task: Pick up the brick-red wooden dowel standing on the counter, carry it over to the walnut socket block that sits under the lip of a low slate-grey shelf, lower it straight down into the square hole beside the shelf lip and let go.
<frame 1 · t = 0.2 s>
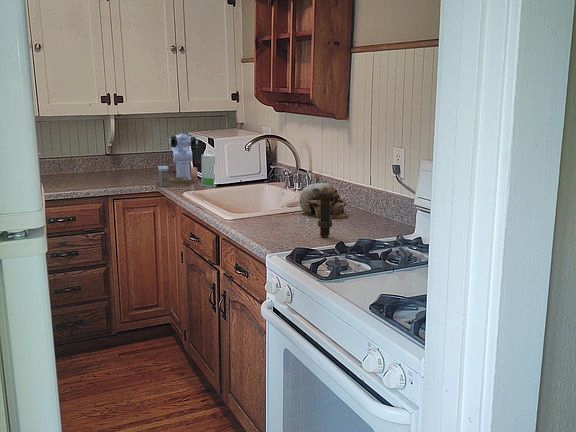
hand: (184, 142, 296), 21 cm above the worktop, tool horizontal, fingers open, 7 cm apart
skincare box: (212, 186, 299), on the worktop
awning: (163, 176, 299), on the worktop
socket block: (178, 184, 302), on the worktop
bolt: (324, 237, 197), on the worktop
peg: (194, 183, 307), on the worktop
coin bank: (323, 215, 231), on the worktop
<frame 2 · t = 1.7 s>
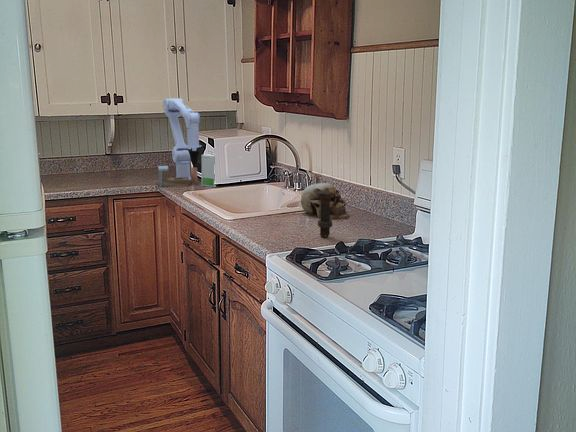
hand: (193, 163, 305), 10 cm above the worktop, tool pointing down, fingers open, 7 cm apart
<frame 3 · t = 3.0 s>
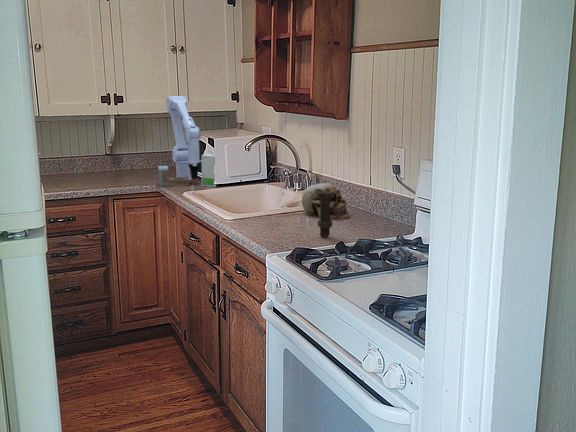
hand: (194, 178, 306), 2 cm above the worktop, tool pointing down, fingers closed on peg, 3 cm apart
peg: (194, 183, 307), on the worktop, touching gripper
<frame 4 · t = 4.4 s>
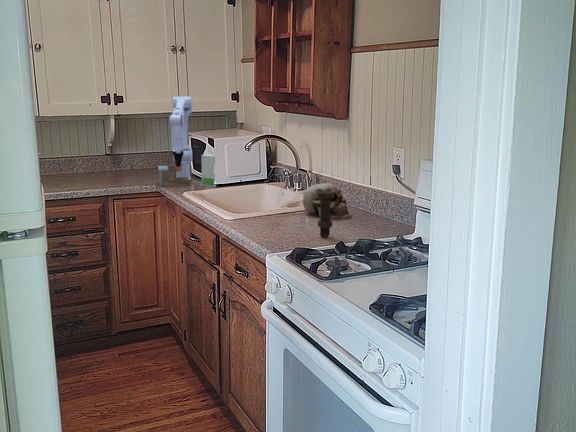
hand: (178, 166, 300), 9 cm above the worktop, tool pointing down, fingers closed on peg, 3 cm apart
peg: (178, 171, 301), point 7 cm above the worktop, touching gripper
when the fingers open (4 cm above the worktop, at t = 6.0 s): peg drops 1 cm, on the worktop.
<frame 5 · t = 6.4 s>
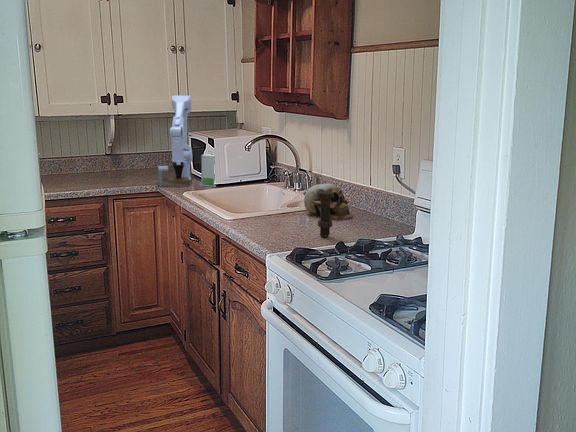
hand: (178, 177, 301), 4 cm above the worktop, tool pointing down, fingers open, 6 cm apart
peg: (179, 184, 302), on the worktop
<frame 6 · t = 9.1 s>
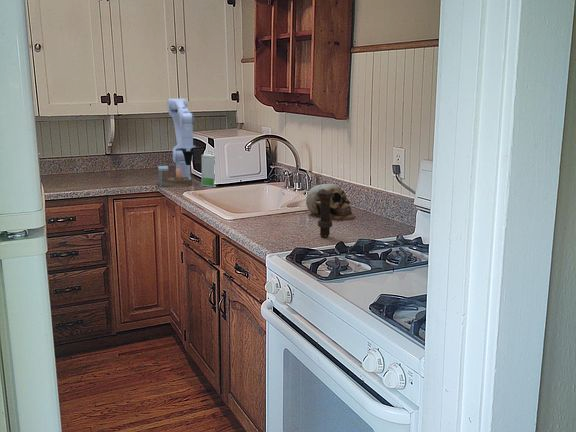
hand: (188, 164, 304), 10 cm above the worktop, tool pointing down, fingers open, 7 cm apart
at the end: peg 0.2 cm off-centre on the socket block, point 0.0 cm above the socket block's base; peg tilted 0°; the gripper is holding nothing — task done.
